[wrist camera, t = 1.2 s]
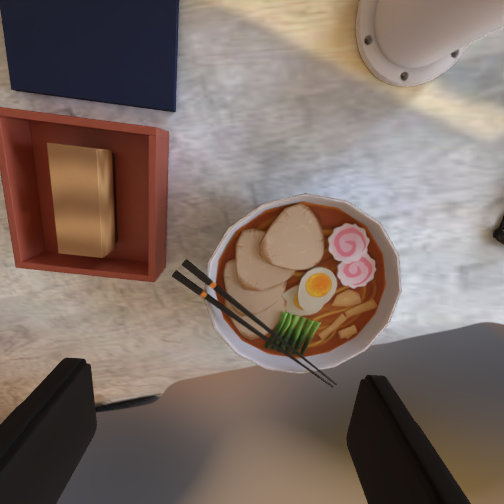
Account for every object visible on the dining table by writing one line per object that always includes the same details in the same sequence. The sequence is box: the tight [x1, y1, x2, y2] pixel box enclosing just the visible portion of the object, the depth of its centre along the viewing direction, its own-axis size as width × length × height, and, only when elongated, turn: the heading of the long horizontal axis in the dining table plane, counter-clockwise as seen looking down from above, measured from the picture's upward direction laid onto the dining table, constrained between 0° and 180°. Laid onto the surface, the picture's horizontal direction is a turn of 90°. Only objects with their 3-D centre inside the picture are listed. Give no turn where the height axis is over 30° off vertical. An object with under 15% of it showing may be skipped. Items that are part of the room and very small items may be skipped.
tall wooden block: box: [47, 143, 118, 258], centre depth 33 cm, size 12×5×5 cm, turn 173°
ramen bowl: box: [172, 193, 402, 387], centre depth 35 cm, size 25×23×8 cm
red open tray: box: [0, 107, 169, 282], centre depth 33 cm, size 18×17×5 cm
